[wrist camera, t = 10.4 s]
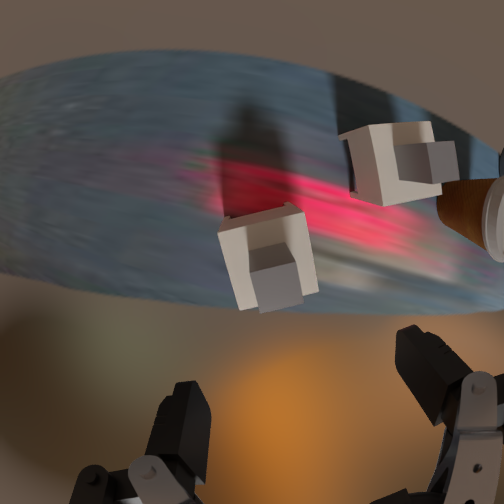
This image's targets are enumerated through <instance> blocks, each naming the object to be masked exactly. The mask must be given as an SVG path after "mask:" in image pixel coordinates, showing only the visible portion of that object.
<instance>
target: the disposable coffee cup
mask: <svg viewBox="0 0 504 504" xmlns="http://www.w3.org/2000/svg"><path fill="white" fill-rule="evenodd" d="M437 211H438V215H439V218H440V220H441V221H442V223H443V224H445V225H446V226H448V227H450V228H451V229H453V230H455V231H456V232H458V233H460V234H461V235H463V236H464V237H466V238H468V239H469V240H471V241H472V242H474V243H476V244H477V245H479V246H480V247H482V248H483V249H485V250H486V251H488V253H489V254H490V256H491V257H492V258H493V259H494V260H495V261H497V262H502V263H503V262H504V176H502V177H499V178H498V179H497V178H494V179H493V178H492V179H477V180H476V179H474V180H473V179H472V180H457V181H450V182H447V183H445V184H444V185H443V186H442V195H438V199H437Z"/></svg>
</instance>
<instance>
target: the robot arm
mask: <svg viewBox="0 0 504 504" xmlns="http://www.w3.org/2000/svg"><path fill="white" fill-rule="evenodd" d="M502 176H504V149H503V151H502V153H501V157H500V177H502ZM395 365H396V369H397V371H398V373H399V375H400V376H401V377H402V379H403V380H404V382H405V383H406V385H407V386H408V388H409V389H410V391H411V392H412V394H413V395H414V396H415V398H416V400H417V401H418V403H419V404H420V406H421V407H422V409H423V410H424V412H425V413H426V415H427V417H428V418H429V420H430V421H431V423H432V424H433V426H436V425H438V424H440V423H442V422H444V424H445V425H446V427H445V430H444V436H443V440H442V445H441V449H440V454H439V457H438V461H437V465H436V469H435V472H434V474H433V476H432V478H431V481H430V483H429V486H428V488H427V491H426V492H416V493H409V494H408V492H407V489H406V488H405V489H403V490H400V491H398V492H396V493H393V494H391V495H388V496H386V497H383V498H381V499H378V500H375V501H373V502H371V503H370V504H494V499H495V494H496V490H497V484H498V478H499V471H500V464H501V455H502V444H504V374H501V375H498V376H495V377H493V376H492V375H490V374H489V373H487V372H482V371H477V372H473V371H472V370H471V369H470V368H469V367H468V365H467V364H466V363H465V362H464V361H463V360H462V359H461V358H460V357H459V356H458V355H457V354H456V353H455V352H454V351H452V349H451V348H450V347H449V346H448V345H446V343H445V342H444V341H443V340H442V339H441V338H440V337H439V336H437V335H435V334H432V333H430V332H426V333H424V332H422V331H421V329H420V328H419V327H418V326H416V325H411V326H409V327H406V328H403V329H401V330H398V331H397V334H396V351H395ZM210 428H211V412H210V408H209V405H208V403H207V401H206V399H205V397H204V395H203V393H202V391H201V389H200V387H199V385H198V383H197V382H196V381H186V382H178V383H176V384H175V388H174V391H173V395H172V396H166V398H165V399H164V400H163V401H162V403H161V404H160V405H159V408H158V411H157V417H156V418H155V421H154V425H153V428H152V431H151V435H150V438H149V441H148V445H147V448H146V452H145V455H144V456H142V457H139V458H138V459H136V460H135V461H133V462H132V464H131V465H130V467H129V469H124V470H119V471H113V472H108V471H107V470H106V469H105V468H103V467H102V466H99V465H90V466H87V467H85V468H84V469H83V470H82V471H81V472H80V473H79V476H78V478H77V481H76V484H75V487H74V490H73V493H72V496H71V499H70V503H69V504H204V503H203V502H202V501H201V500H200V499H199V498H198V496H197V495H196V494H195V493H194V491H195V485H197V484H205V481H206V469H207V459H208V448H209V438H210Z"/></svg>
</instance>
